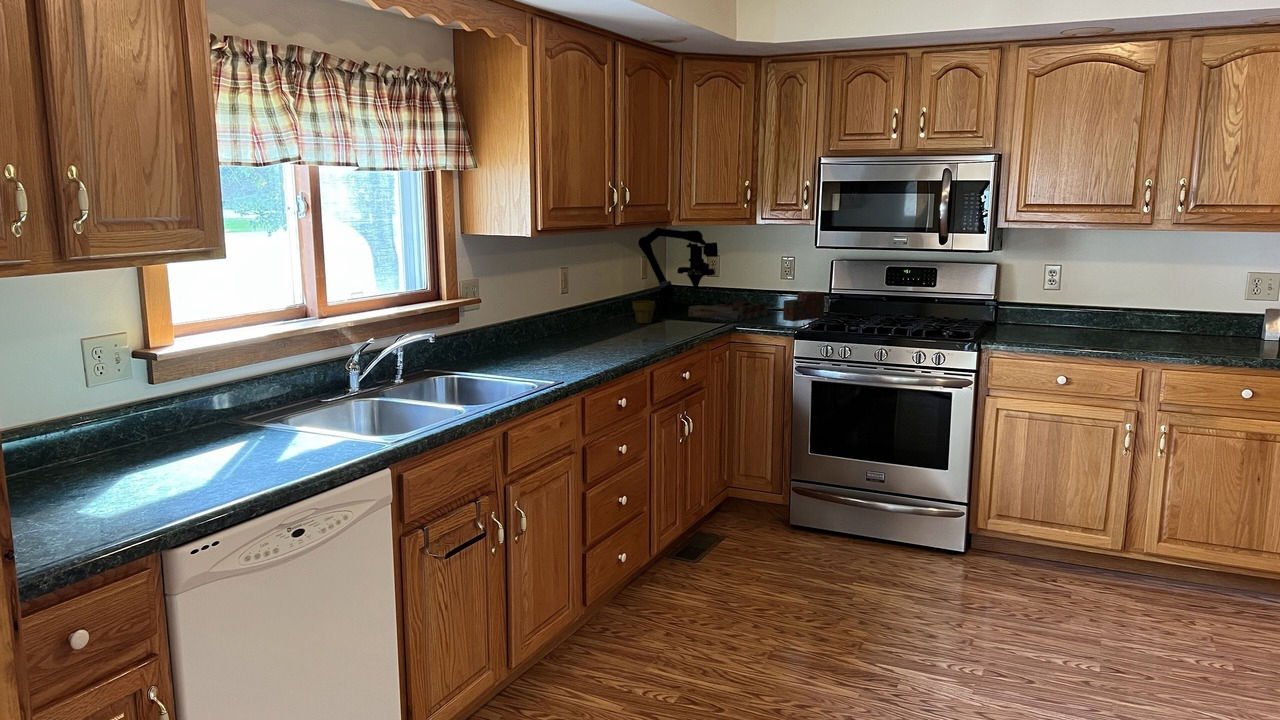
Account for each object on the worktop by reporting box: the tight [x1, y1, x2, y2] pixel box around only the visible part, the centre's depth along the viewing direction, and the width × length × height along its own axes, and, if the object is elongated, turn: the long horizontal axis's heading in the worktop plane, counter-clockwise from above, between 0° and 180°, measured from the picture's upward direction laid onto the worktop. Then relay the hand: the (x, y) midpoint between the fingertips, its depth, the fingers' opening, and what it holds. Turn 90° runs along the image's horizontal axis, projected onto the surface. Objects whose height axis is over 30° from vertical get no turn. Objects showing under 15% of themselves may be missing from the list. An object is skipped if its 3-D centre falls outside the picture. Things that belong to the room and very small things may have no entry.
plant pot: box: [632, 300, 656, 324], centre depth 415 cm, size 10×10×10 cm
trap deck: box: [687, 302, 770, 322], centre depth 441 cm, size 28×35×6 cm
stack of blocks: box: [782, 290, 826, 322], centre depth 428 cm, size 21×6×12 cm, turn 127°
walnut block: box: [732, 300, 751, 312], centre depth 434 cm, size 6×6×4 cm
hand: (695, 288), depth 444 cm, fingers closed
